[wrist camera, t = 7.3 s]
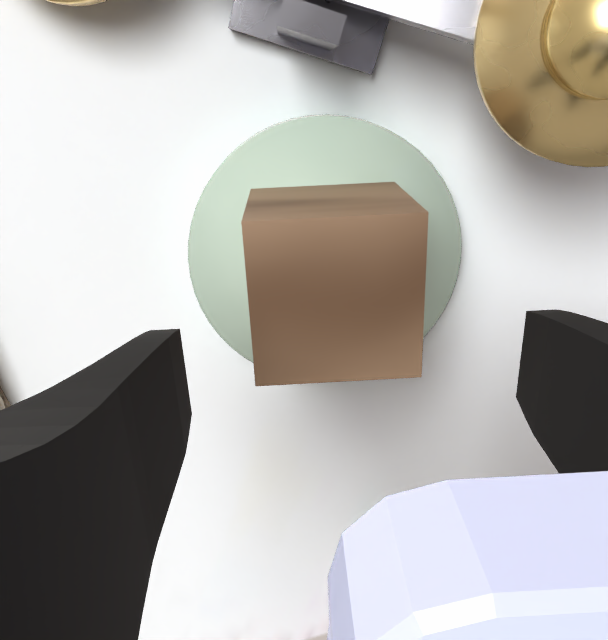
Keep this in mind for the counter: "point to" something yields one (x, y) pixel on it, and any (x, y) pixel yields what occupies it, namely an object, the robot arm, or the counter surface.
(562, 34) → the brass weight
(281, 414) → the counter surface
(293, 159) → the dish
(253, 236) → the walnut block
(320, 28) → the balance stand
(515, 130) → the balance beam
